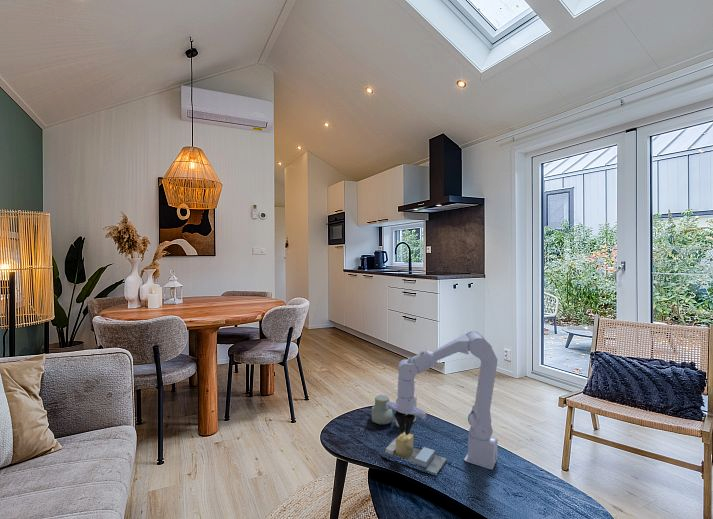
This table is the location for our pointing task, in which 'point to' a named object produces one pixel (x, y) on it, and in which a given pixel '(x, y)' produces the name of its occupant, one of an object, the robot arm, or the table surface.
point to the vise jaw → (424, 457)
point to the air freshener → (381, 410)
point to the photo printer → (406, 414)
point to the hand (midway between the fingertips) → (405, 433)
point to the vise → (432, 466)
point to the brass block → (404, 445)
